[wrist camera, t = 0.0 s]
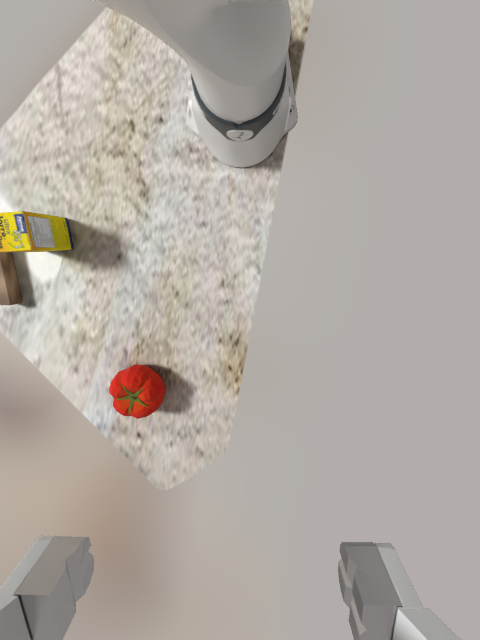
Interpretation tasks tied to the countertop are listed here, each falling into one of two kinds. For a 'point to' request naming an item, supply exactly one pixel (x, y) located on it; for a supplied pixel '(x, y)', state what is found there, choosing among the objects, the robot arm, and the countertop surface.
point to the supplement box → (33, 232)
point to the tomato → (137, 391)
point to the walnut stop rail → (8, 280)
